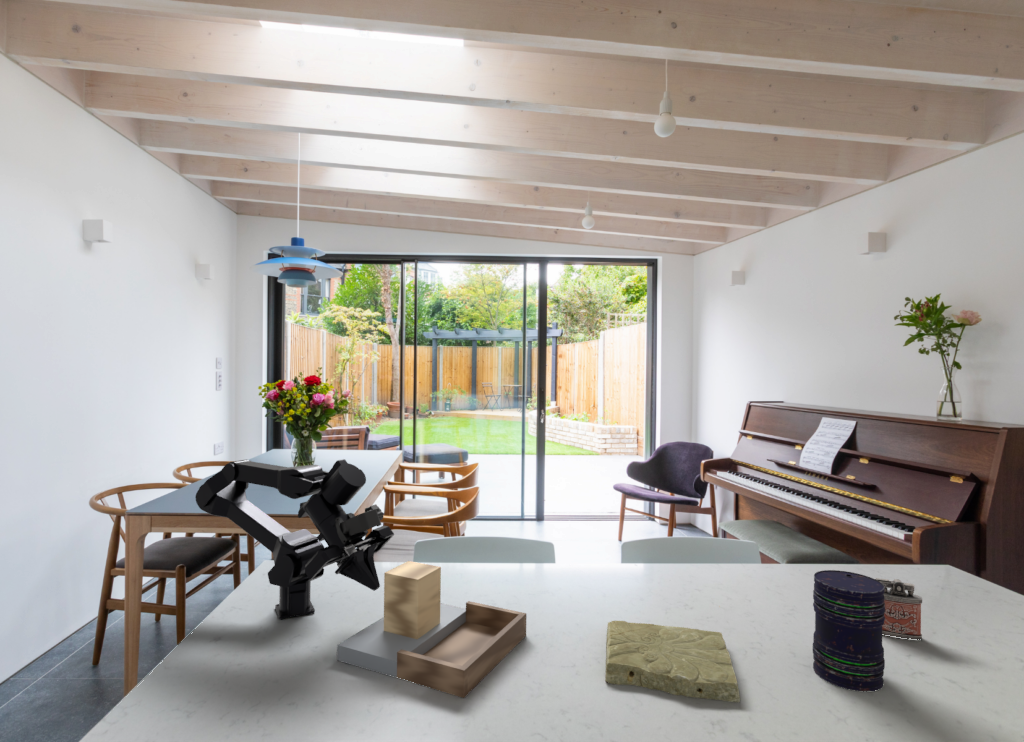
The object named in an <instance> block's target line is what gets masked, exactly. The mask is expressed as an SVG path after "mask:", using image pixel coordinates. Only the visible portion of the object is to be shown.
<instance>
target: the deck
mask: <svg viewBox="0 0 1024 742" xmlns="http://www.w3.org/2000/svg"><path fill="white" fill-rule="evenodd" d="M465 622H466V607H461V606H456V605H452V604H447V603H444V602H440V624H438V625H437V626H435V627H434V628H433V629H431V630H430V631H428V632H427V633H426V634H424V635H423V636H421V637H420V638H419V639H414V638H410V637H406V636H402V635H398V634H394V633H390V632H387V631H384V616H383V617H381V618H379V619H378V620H376V621H375V622H373V623H371V624H369V625H368V626H366V627H365V628H363V629H362V630H359V631H358V632H356V633H355V634H353V635H351V636H350V637H348V638H346V639H345V640H343V641H342V642H340V643H338V644H337V645H336V648H337V649H336V651H337V652H336V653H337V654H336V660H337V661H338V662H342V663H346V664H349V665H353V666H354V667H355V666H356V667H358V666H359V668H362V667H363V668H362V669H365V668H367V669H366V670H368V669H370V670H369V671H372V672H375V671H376V673H378V672H380V673H379V674H382V673H383V675H385V674H387V675H386V676H388V675H391V676H390V677H392V676H394V677H393V678H395V677H397V652H398V651H399V650H401V649H402V650H406V651H409V652H413V653H417V654H420V655H423V654H424V653H426V652H427V651H428V650H430V649H431V648H432V647H434V646H435V645H436V644H437V643H439V642H440V641H441V640H443V639H444V638H445V637H447V636H448V635H449V634H450V633H452V632H453V631H454V630H456V629H457V628H458V627H460V626H461V625H462V624H463V623H465Z"/></svg>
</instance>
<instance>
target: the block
mask: <svg viewBox="0 0 1024 742" xmlns="http://www.w3.org/2000/svg"><path fill="white" fill-rule="evenodd" d="M441 569H442V567H441V566H437V565H432V564H428V563H427V564H426V563H421V562H417V561H411V560H408V561H406V562H403V563H401V564H400V565H398V566H395V567H393V568H391V569H389V570H388V571H385V572H384V574H383V575H384V577H383V580H384V582H383V583H384V585H383V586H384V587H383V592H384V593H383V617H384V631H387V632H390V633H394V634H398V635H402V636H406V637H410V638H414V639H419V638H420V637H421V636H423V635H424V634H426V633H427V632H428V631H430V630H431V629H433V628H434V627H435V626H437V625H438V624H440V603H441V592H442V591H441V589H442V587H441V580H442V579H441V574H442V570H441Z"/></svg>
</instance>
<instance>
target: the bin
mask: <svg viewBox="0 0 1024 742" xmlns="http://www.w3.org/2000/svg"><path fill="white" fill-rule="evenodd" d="M465 608H466V622H465V623H463V624H462V625H461V626H460V627H458V628H457V629H456V630H454V631H453V632H452V633H450V634H449V635H448V636H447V637H445V638H444V639H443V640H441V641H440V642H439V643H437V644H436V645H435V646H434V647H432V648H431V649H430V650H428V651H427V652H426V653H424V654H423V655H420V654H417V653H413V652H409V651H406V650H402V649H401V650H399V651H398V652H397V677H398V678H401V679H400V680H402V679H405V680H408V681H411V682H410V683H412V682H414V683H413V684H415V683H416V685H419V684H420V685H419V686H422V685H424V686H423V687H425V686H427V687H426V688H429V687H430V688H429V689H433V690H435V689H436V690H435V691H439V690H440V691H439V692H442V693H445V692H446V694H450V695H451V696H455V697H460V698H462V699H465V698H466V697H467V696H468V695H469V694H470V693H471V692H472V691H473V690H474V688H476V687H477V686H478V685H479V684H480V683H481V681H483V680H484V679H485V678H486V676H488V675H489V674H490V673H491V672H492V671H493V669H495V667H497V665H499V663H501V661H503V659H505V657H507V656H508V655H509V654H510V653H511V651H513V650H514V648H516V647H517V646H518V645H519V644H520V642H521V641H522V640H524V639H525V638H526V636H527V613H526V612H521V611H516V610H513V609H508V608H503V607H499V606H494V605H489V604H484V603H479V602H474V601H470V600H468V601H466V603H465ZM398 678H397V679H398ZM405 680H404V681H405ZM408 681H407V682H408Z"/></svg>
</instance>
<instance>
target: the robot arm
mask: <svg viewBox="0 0 1024 742" xmlns="http://www.w3.org/2000/svg"><path fill="white" fill-rule="evenodd" d="M366 482H367V477H366V474H365V472H364V471H363V469H360V468H359V467H357V466H356V465H354V464H351V463H350V462H348V461H347V460H346V459H344V458H343V459H338V460H336V461H335V462H334V463H333V465H332V467H331V469H330V470H329V471H326V470H323V467H322V466H321V465H318V464H310V465H309V464H307V465H297V466H289V467H288V466H281V465H275V464H270V463H263V462H256V461H252V460H249V459H240V460H235V461H230V462H227V464H225V465H224V466H223V467H222V469H221V470H219V471H218V472H216V473H215V474H213V475H212V476H210V477H209V478H208V479H206V480H205V482H204V483H203V484H201V485H200V486H199V488H198V490H197V492H196V494H195V502H196V505H197V506H198V508H199V509H200V510H202V511H203V512H205V513H207V514H209V515H211V516H213V517H214V516H215V517H221V518H227V519H228V520H230V522H232V523H233V524H234V525H236V526H237V527H239V528H240V529H242V531H244V532H245V533H247V534H248V535H249V536H250V537H252V538H253V539H254V540H256V541H257V542H258V543H259V544H261V545H262V546H263V547H265V548H266V549H268V551H270V552H271V553H272V556H273V557H272V558H273V563H274V565H273V566H272V568H271V569H270V570H269V571H267V578H268V582H269V585H273V586H277V587H279V595H278V597H279V598H278V599H279V600H278V601H279V603H277V604H275V610H276V613H277V614H276V615H277V616H278V620H279V619H280V620H282V619H288V618H293V617H299V616H304V615H308V614H314V613H315V611H316V609H315V607H314V605H313V604H312V601H311V587H312V586H311V582H312V581H314V580H316V579H319V578H321V577H323V575H324V572H325V569H324V568H325V567H328V566H330V565H332V564H335V563H336V565H337V569H336V570H335V571H334V573H335V575H342V576H344V577H346V578H348V579H351V580H353V581H355V582H357V583H359V584H361V585H362V586H365V587H366V588H368V589H370V590H372V591H377V590H378V589H379V588H380V587H381V584H380V581H379V577H378V573H377V572H378V571H377V569H376V565H375V559H374V555H375V554H377V553H379V551H381V550H382V548H384V547H385V546H386V544H387V543H388V542H389V541H390V540H391V539H392V538H393V537H394V535H395V533H394V532H393V530H392V529H391V527H390V526H388V525H383V526H382V523H381V522H382V520H383V519H384V512H383V511H382V509H381V508H380V507H379V506H378V505H377V504H376V503H375V504H372V505H369V507H368V506H367V507H366V508H364V512H362V513H359V514H356V515H355V514H354V513H352V512H349V513H347V512H346V511H345V510H344V509H343V507H342V506H346V505H348V504H349V503H350V502H351V500H352V499H353V498H354V497H355V496H356V495H357V494H358V492H359V491H360V490H361V489H362V488H363V487H364V486H365V484H366ZM250 484H252V485H259V486H262V487H269V488H273V489H277V491H278V493H279V494H280V495H282V496H285V497H288V498H290V499H292V500H298V499H301V498H305V497H309V498H308V499H307V500H306V501H303V502H300V503H299V510H298V512H297V517H298V519H300V518H305V517H309V519H310V521H311V522H312V524H314V527H316V530H317V531H318V532H319V534H318V535H316V536H315V535H314V534H312V533H311V531H309V530H308V529H306V528H303V529H299V530H296V531H293V532H291V531H289V529H287V528H286V527H285V526H283V525H282V524H280V523H279V522H278V521H276V520H275V519H274V518H272V517H271V516H269V515H268V514H267V513H265V512H264V511H263V510H262V509H260V508H259V507H258V506H256V505H255V504H253V503H252V502H251V501H249V500H248V499H247V494H246V492H247V491H246V490H248V488H249V485H250ZM375 527H376V528H375ZM372 528H374V529H372ZM371 529H372V530H371ZM368 530H371V531H370V532H369V531H368ZM364 537H365V538H364ZM322 541H325V542H326V544H327V546H324V545H323V543H322Z"/></svg>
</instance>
